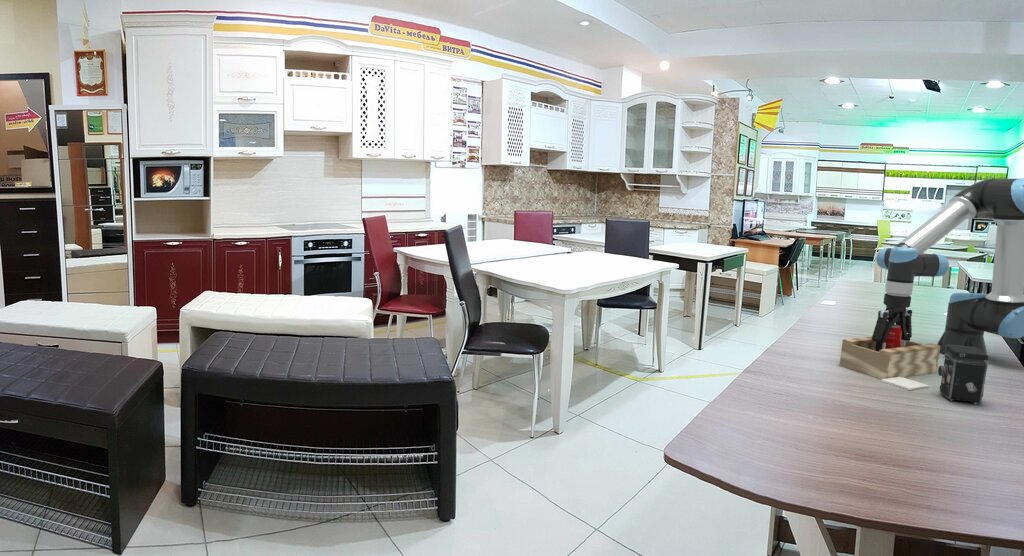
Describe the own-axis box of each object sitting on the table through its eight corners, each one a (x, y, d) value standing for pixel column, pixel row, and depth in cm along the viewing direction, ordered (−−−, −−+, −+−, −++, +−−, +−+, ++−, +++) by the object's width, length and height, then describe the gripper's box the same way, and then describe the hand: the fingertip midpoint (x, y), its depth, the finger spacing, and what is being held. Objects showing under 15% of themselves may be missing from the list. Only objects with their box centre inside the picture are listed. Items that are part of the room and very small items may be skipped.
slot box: (890, 358, 216) (893, 334, 214) (936, 372, 201) (940, 345, 200) (839, 365, 205) (842, 339, 204) (884, 379, 191) (888, 352, 189)
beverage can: (901, 372, 200) (908, 328, 197) (880, 370, 201) (886, 326, 199) (894, 366, 205) (900, 324, 203) (873, 365, 207) (879, 322, 204)
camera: (971, 394, 180) (979, 345, 177) (985, 406, 170) (994, 355, 167) (930, 389, 183) (938, 341, 181) (942, 400, 173) (950, 350, 171)
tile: (899, 378, 193) (900, 376, 193) (928, 387, 185) (928, 385, 185) (880, 381, 189) (881, 379, 189) (909, 390, 181) (909, 388, 181)
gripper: (908, 290, 207) (899, 353, 210) (864, 293, 198) (856, 359, 202) (930, 294, 200) (921, 360, 204) (886, 297, 191) (877, 366, 195)
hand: (888, 359), depth 203 cm, fingers open, 9 cm apart
